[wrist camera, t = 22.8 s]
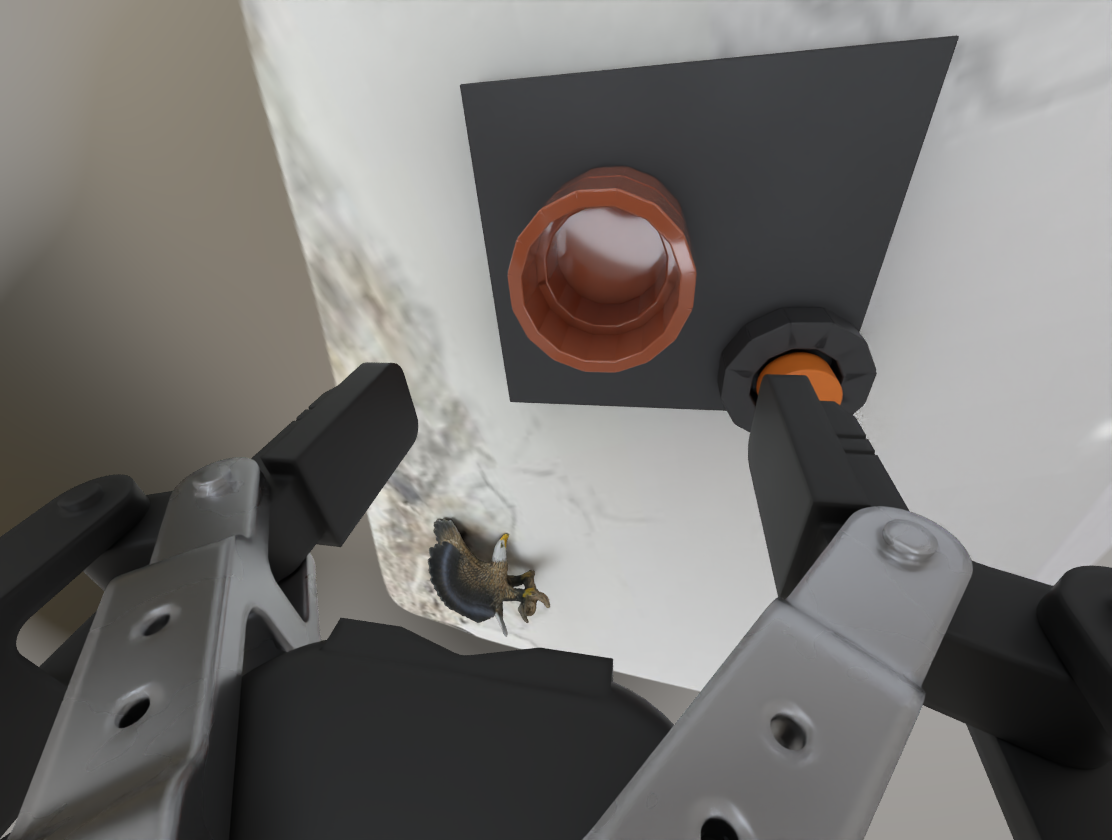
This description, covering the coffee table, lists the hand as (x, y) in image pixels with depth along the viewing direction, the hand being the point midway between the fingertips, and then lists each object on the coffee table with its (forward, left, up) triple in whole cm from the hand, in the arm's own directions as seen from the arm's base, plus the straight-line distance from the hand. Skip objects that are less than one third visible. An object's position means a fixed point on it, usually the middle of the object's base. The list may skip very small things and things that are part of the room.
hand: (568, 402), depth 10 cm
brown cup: (0, 0, -11) cm, 11 cm away
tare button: (-8, +5, -10) cm, 14 cm away
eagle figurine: (+10, +23, -14) cm, 28 cm away
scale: (-2, +1, -13) cm, 14 cm away
